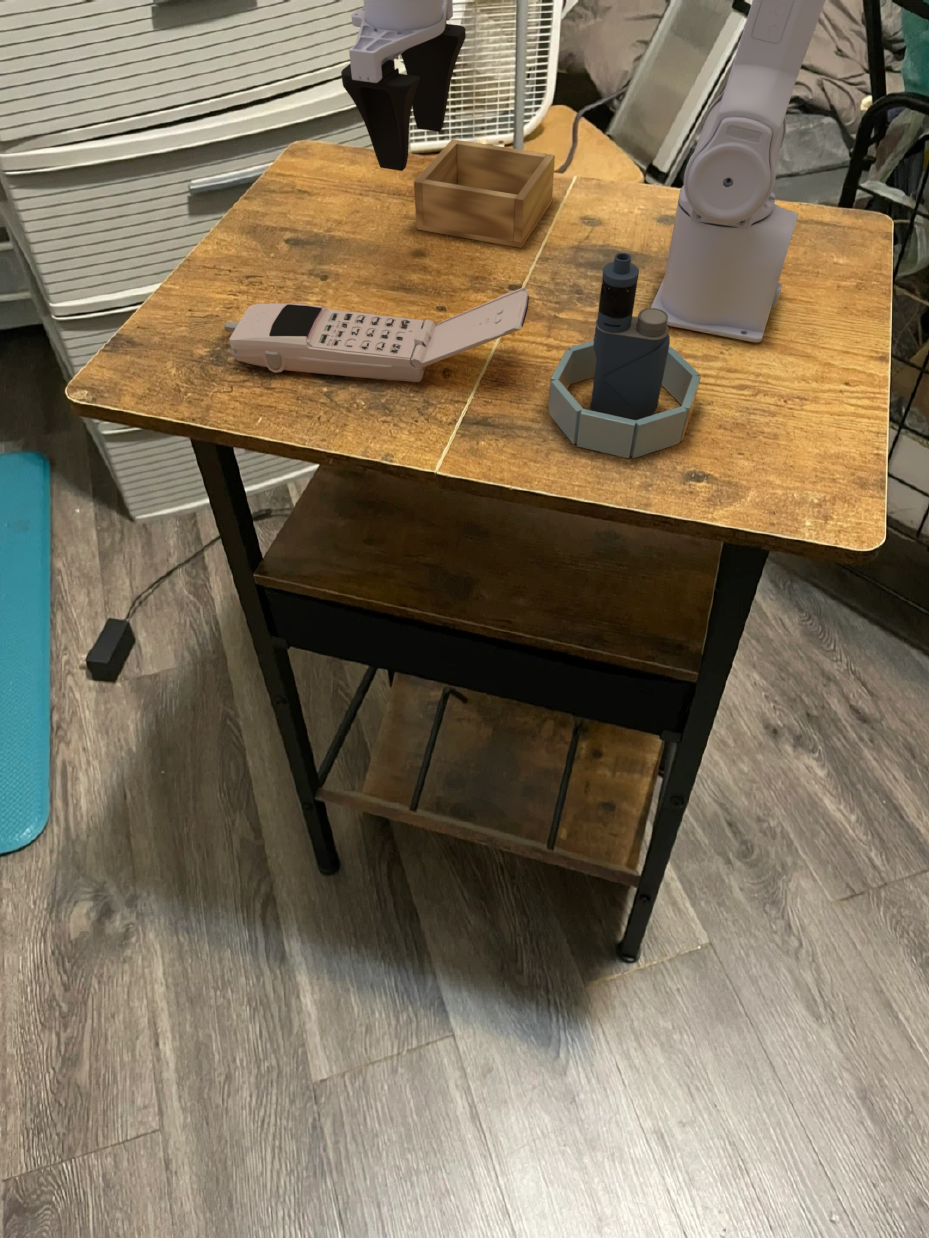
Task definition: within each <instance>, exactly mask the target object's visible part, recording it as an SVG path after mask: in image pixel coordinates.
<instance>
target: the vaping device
mask: <svg viewBox="0 0 929 1238" xmlns="http://www.w3.org/2000/svg"><path fill="white" fill-rule="evenodd" d="M631 261H632V256H631V254H629V253H626V252H618V253H616V254H615V255H614V260H613V261H611V262H609V263H607V264H605V265H604V267H603V269H602V275H601V276H602V278H601V285H600V293H599V301H598V310H597V318H596V321H595V329H594V334H593V337H592V338H593V339H592V341H594V351H595V354H596V367H595V375H594V377H593V384H592V392H591V401H590V403H589V410H591V411H596V412H600V413H605V414H609V415H614V416H618V417H623V418H627V419H632V420H638V419H642V418H645V417H648V416H651V415H655V414H656V411H657V408H658V406H659V405H658V404H659V400H660V395H661V394H660V393H661V390H662V380H663V375H664V370H665V365H666V360H667V354H668V349H669V347H670V343H671V339H670V338H671V336H670V334H669V332H670V329H669V326H668V325H667V321H668V315H667V313H666V312H664V311H663V310H660V309H656V308H651V307H648V308H643V309H642V310H640V311H639V313H638V315H637V316H633V314H634V308H635V301H636V295H637V288H638V281H639V275H640V270H639V268H638V266H636V265H635V264H633V263H632V262H631Z"/></svg>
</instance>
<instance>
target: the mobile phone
mask: <svg viewBox="0 0 929 1238" xmlns="http://www.w3.org/2000/svg"><path fill="white" fill-rule="evenodd" d="M529 302H530V294H529V292H528V289H527V288H525V287H520V288H518V289H516V290H511V291H508V292H506V293H504V294H502V295H500V296H499V297H495V298H494V299H492V300H489V301H487V302H484V303H481V304H479V305H477V306H474V307H473V308H470V309H468V310H465V311H463V312H461V313H458V314H456V315H453V316H451V317H449V318H446V319H444V320H441V321H440V322H437V323H435V322H434V321H433V320H431V319H426V320H424V319H416V318H409V317H408V318H407V317H399V316H391V315H390V316H389V315H383V314H373V313H365V312H357V311H348V310H338V309H328V308H327V307H326V306H323V305H315V304H314V305H312V304H305V303H304V304H303V303H284V302H283V303H281V302H280V303H279V302H276V303H271V302H270V303H255V304H251V305H250V306H248V307H247V309H246V310H245V311H244V314H243V315H242V317H241V318H240V320H239V321H225V322H224V330H225V332H226V333H227V332H228V333H232V334H230V337H229V338H228V342H229V346H230V348H231V353H232V356H233V358H234V359H235V360H236V361H238V362H242V363H246V364H250V365H252V366H253V365H254V366H258V367H263V368H267V369H268V370H269V371H270V372H273V373H275V374H277V373H282V372H283V371H290V372H300V373H309V374H319V375H329V376H340V377H350V378H363V379H374V380H375V379H377V380H388V381H399V382H410V383H411V382H412V383H420V382H422V379H423V376H424V373H425V370H426V367H428V366H430V365H432V364H435V363H438V362H441V361H443V360H445V359H448V358H451V357H453V356H456V355H459V354H462V353H464V352H466V351H469V350H472V349H474V348H477V347H481V346H484V345H485V344H487V343H490V342H492V341H495V340H497V339H500V338H502V337H505V336H508V335H510V334H513V333H515V332H518V331H521V330H522V329H523V328H524V325H525V320H526V317H527V314H528V310H529Z"/></svg>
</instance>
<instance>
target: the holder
mask: <svg viewBox="0 0 929 1238" xmlns="http://www.w3.org/2000/svg"><path fill="white" fill-rule="evenodd" d="M555 162H556V155H555V154H551V153H547V152H538V151H533V150H525V149H519V148H513V147H506V146H500V145H493V144H487V143H480V142H473V141H466V140H459V139H453V138H452V139H451V140H450V141H449V142H448V143H447V144H446V145H445V146H444V147H443V149H442V150H441V151H440V152H439V153H438V154H437V155H436V156H435V157H434V159H433V160H432V161H431V162H430V163H429V164H428V166H427V167H425V168H424V170H423V171H421V173H420V174H419V175H418V177H417V178H416V179H415V180H413V191H414V207H415V224H416V225H415V227H416V230H419V231H424V232H430V233H435V234H441V235H447V236H451V237H458V238H464V239H468V240H474V241H480V242H485V243H491V244H496V245H502V246H507V247H513V248H519V249H522V248H523V246H524V245H525V243H526V242H527V240H528V239H529V238H530V236H531V234H532V233H533V231H534V230H535V229H536V226H538V224H539V222H540V221H541V219H542V218H543V216H545V215H544V214H545V213H546V211H548V208H549V207H550V206H551V204H552V203H553V192H554V191H553V190H554V177H555V176H554V175H555Z"/></svg>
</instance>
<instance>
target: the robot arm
mask: <svg viewBox="0 0 929 1238" xmlns="http://www.w3.org/2000/svg"><path fill="white" fill-rule="evenodd" d="M453 2H454V1H453V0H363V7H361V8H358V9H357V10H356V11H353V13H351V16H350V18H351V25H352V26H353V27H357V28H359V31H358V34H357V38H356V41H355V43H354V45H352V46H351V47H350V48H349V49H348V53H349V64H347V65H346V66H345V67H344V68H343V69H342V70H341V71H340V75H341V83H342V87H343V88H344V89H345V91H346V93H347V94H348V96H349V97H350V98H351V100H352V101H353V104H354V105H355V107H356V108H357V110H358V112H359V114H360V116H361V118H362V120H363V123H364V125H365V128H366V131H367V133H368V136H369V140H370V142H371V145H372V149H373V151H374V154H375V157H376V160H377V163H378V165H379V168H381V169H387V170H392V171H398V172H403V171H404V170H405V169H406V168H407V164H408V159H409V146H410V145H409V143H410V123H411V115H412V114H411V113H413V118H414V123H415V125H416V128H417V130H423V131H429V132H436V133H440V132H441V131H442V130H443V127H444V122H445V117H446V112H447V105H448V99H449V94H450V88H451V84H452V83H451V82H452V78H453V74H454V71H455V66H456V65H457V64H456V63H457V60H458V57H459V54H460V53H461V50H462V48H463V45H464V43H465V41H466V37H467V35H466V34H467V33H466V27H465V26H464V25H460V24H454V23H453V24H452V23H448V22H447V21H450V19H452V18H453V16H454V6H453V4H454V3H453ZM825 3H826V0H752V1H751V4H750V8H749V11H748V14H747V16H746V21H745V24H744V26H743V30H742V33H741V37H740V40H739V43H738V46H737V50H736V52H735V56H734V59H733V63H732V65H731V68H730V71H729V75H728V78H727V81H726V84H725V87H724V88H723V90H722V92H721V93H720V94H719V95H718V97H717V98H716V99H715V100H714V101H713V102H712V103H711V104H710V106H709V107H708V109H707V111H706V113H705V115H704V117H703V119H702V123H701V126H700V133H699V137H698V140H697V143H696V146H695V148H694V151H693V153H692V154H691V156H690V157H689V160H688V162H687V164H686V167H685V170H684V175H683V185H682V186H681V187H680V189H679V194H678V199H677V205H676V210H675V216H674V221H673V227H672V232H671V238H670V244H669V249H668V255H667V259H666V266H665V272H664V277H663V279H662V281H661V283H660V285H659V288H658V290H657V293H656V295H655V297H654V299H653V301H652V303H651V305H650V308H656V309H660V310H663V311H664V312H666V313H667V315H668V321H667V326H668V327H673V328H678V329H683V330H688V331H689V330H690V331H694V332H700V333H703V334H704V333H705V334H709V335H715V336H720V337H724V338H730V339H736V340H740V341H744V342H750V343H760V342H762V340H763V337H764V334H765V330H766V327H767V323H768V321H769V316H770V313H771V310H772V307H773V308H776V307H777V306H778V302H779V298H780V294H781V292H782V288H783V283H780V279H781V276H782V272H783V268H784V265H785V261H786V258H787V255H788V253H789V252H788V251H789V248H790V245H791V241H792V238H793V234H794V231H795V228H796V225H797V220H798V217H799V212H798V211H797V212H796V211H794V210H789V209H787V208H784V207H781V206H780V205H778V204H776V195H775V191H774V192H773V190H774V187H775V184H776V178H777V172H776V171H777V170H776V169H777V165H778V160H779V156H780V151H781V148H782V145H783V143H784V139H785V136H786V132H787V117H786V116H787V115H786V114H787V110H788V108H789V104H790V101H791V99H792V95H793V92H794V89H795V86H796V82H797V79H798V76H799V74H800V71H801V68H802V66H803V63H804V60H805V57H806V55H807V52H808V50H809V48H810V47H809V46H810V44H811V41H812V38H813V35H814V33H815V30H816V28H817V25H818V22H819V19H820V16H821V14H822V11H823V8H824V5H825ZM399 56H401V59H402V62H403V65H404V69H405V73H406V74H404V73H400V69H399V68H398V67H396V64H395V60H396V59H397V58H398V57H399Z"/></svg>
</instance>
